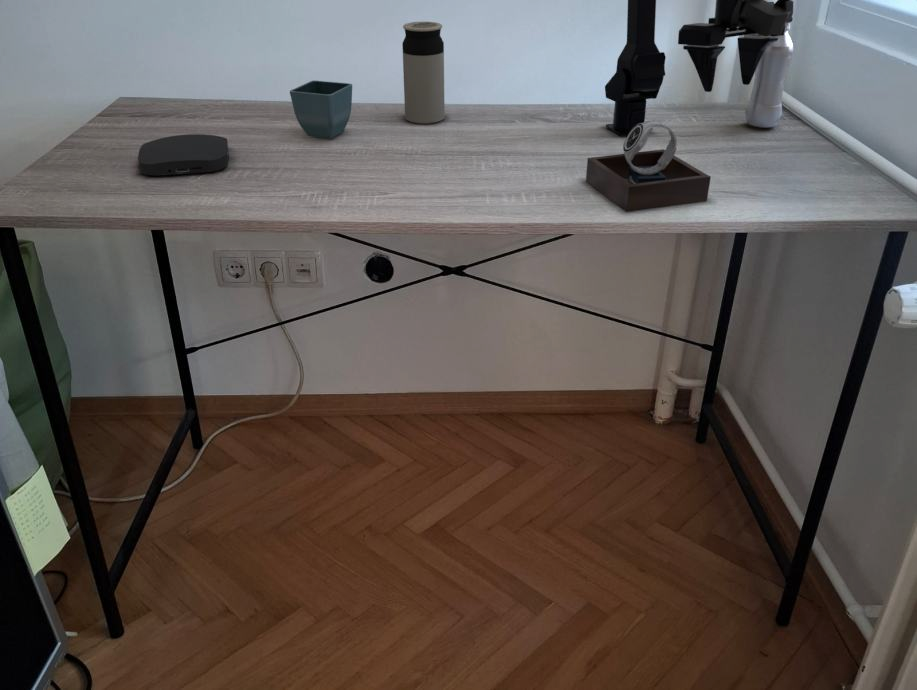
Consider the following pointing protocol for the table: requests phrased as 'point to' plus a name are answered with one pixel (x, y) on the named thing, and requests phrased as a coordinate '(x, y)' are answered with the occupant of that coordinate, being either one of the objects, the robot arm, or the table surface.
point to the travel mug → (423, 72)
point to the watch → (637, 142)
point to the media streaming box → (183, 154)
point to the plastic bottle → (770, 83)
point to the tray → (675, 190)
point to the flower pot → (322, 107)
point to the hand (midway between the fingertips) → (727, 88)
